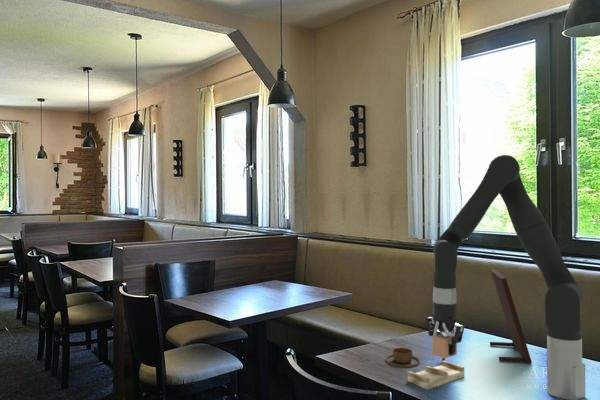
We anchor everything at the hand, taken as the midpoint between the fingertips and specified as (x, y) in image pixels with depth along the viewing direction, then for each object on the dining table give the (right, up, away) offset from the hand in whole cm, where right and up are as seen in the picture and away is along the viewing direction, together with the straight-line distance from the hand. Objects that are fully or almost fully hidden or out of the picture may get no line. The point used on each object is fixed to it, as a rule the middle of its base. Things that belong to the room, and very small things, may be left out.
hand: (444, 352), depth 160 cm
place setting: (-7, -9, +12) cm, 16 cm away
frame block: (0, -1, 0) cm, 1 cm away
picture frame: (+31, -8, +22) cm, 38 cm away
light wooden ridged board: (-3, -8, -3) cm, 9 cm away
